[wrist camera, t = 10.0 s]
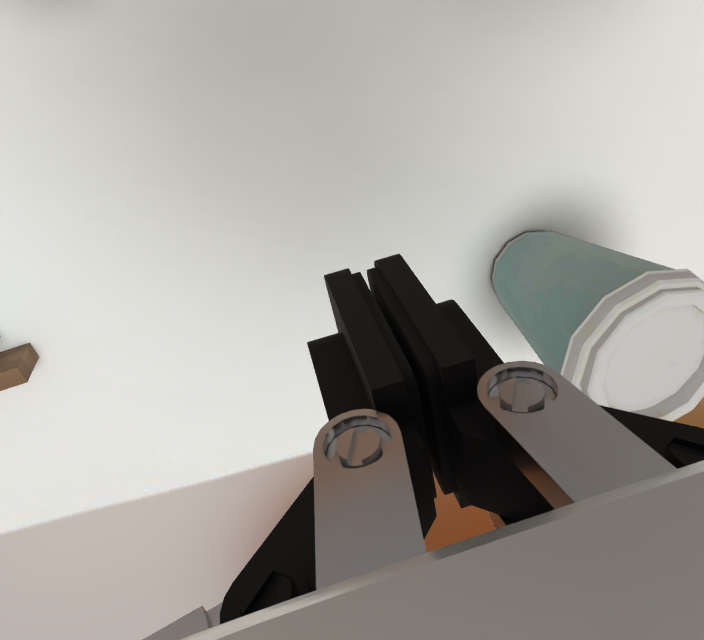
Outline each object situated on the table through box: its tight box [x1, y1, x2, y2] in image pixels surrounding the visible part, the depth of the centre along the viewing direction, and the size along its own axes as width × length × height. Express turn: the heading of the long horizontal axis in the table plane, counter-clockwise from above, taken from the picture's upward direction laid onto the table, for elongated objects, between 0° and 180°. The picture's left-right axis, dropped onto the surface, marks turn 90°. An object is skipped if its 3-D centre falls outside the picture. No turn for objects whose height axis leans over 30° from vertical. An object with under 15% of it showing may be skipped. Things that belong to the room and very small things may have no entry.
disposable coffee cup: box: [492, 231, 704, 421], centre depth 37 cm, size 11×11×15 cm
